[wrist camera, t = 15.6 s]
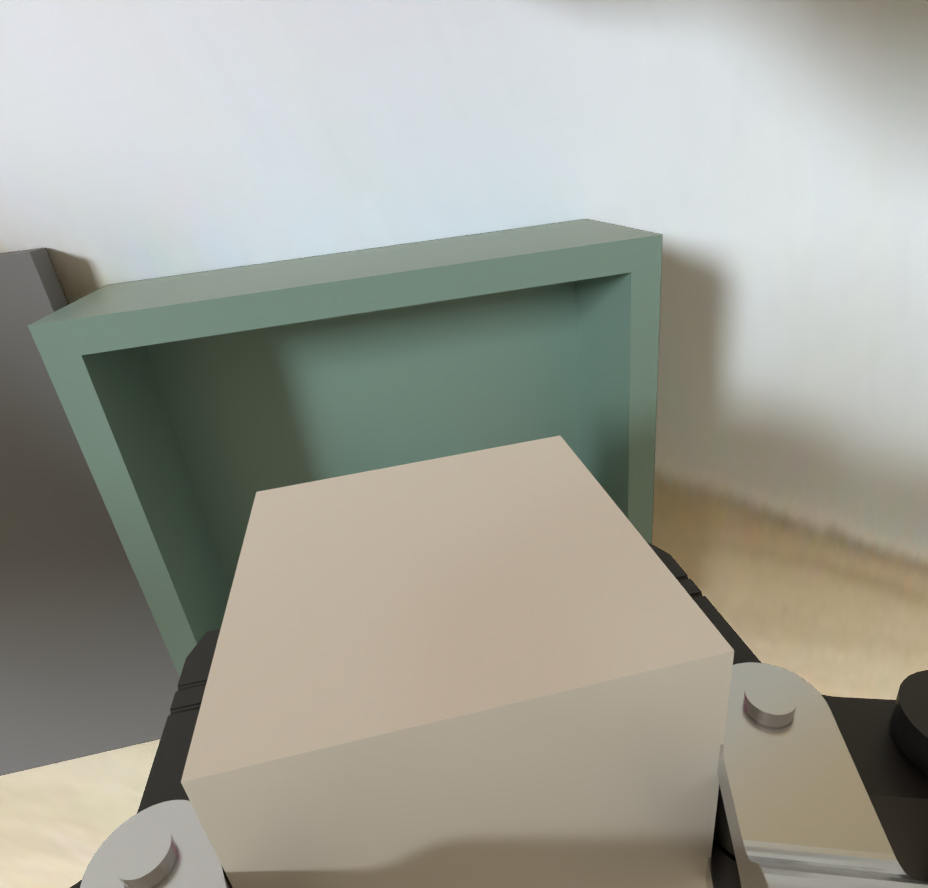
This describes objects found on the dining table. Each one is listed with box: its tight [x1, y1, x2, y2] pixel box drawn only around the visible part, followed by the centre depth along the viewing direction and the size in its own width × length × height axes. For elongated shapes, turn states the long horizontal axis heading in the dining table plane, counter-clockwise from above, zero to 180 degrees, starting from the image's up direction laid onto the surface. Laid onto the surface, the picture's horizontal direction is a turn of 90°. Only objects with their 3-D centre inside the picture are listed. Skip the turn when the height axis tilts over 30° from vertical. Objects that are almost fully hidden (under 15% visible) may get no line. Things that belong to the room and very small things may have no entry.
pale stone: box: [181, 435, 734, 888], centre depth 9 cm, size 5×5×5 cm
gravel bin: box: [28, 219, 662, 677], centre depth 19 cm, size 15×15×5 cm
